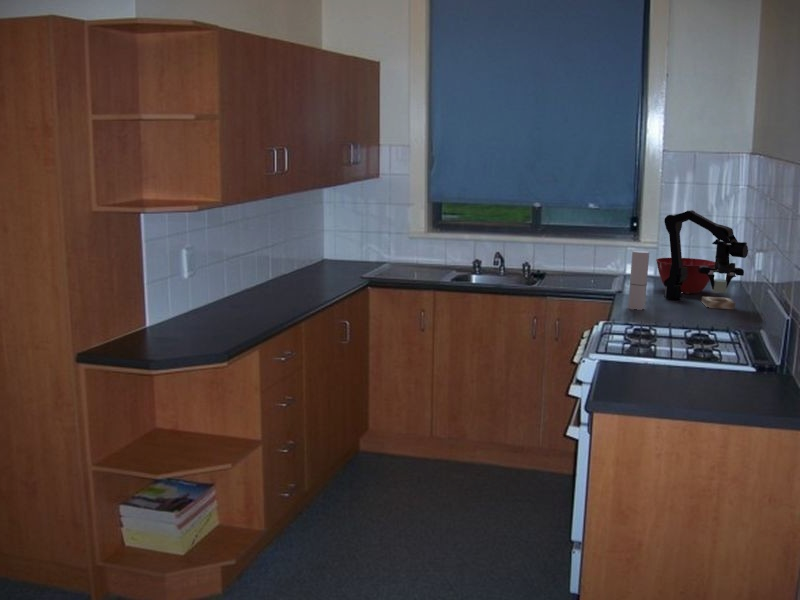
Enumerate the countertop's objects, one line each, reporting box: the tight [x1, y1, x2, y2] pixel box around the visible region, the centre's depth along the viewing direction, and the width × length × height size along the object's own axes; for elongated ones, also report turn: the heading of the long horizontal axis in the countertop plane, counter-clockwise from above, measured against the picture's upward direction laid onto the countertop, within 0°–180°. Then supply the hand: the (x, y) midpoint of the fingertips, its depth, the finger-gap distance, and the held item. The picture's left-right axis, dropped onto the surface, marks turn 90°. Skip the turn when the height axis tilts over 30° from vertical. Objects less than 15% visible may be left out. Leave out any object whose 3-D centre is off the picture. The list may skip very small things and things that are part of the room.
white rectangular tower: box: [627, 250, 650, 311], centre depth 390 cm, size 7×7×25 cm
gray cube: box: [711, 279, 728, 294], centre depth 403 cm, size 5×5×5 cm
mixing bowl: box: [655, 257, 715, 294], centre depth 439 cm, size 28×28×15 cm
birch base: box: [701, 296, 736, 310], centre depth 404 cm, size 12×12×3 cm
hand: (719, 289), depth 403 cm, fingers closed on gray cube, 5 cm apart
